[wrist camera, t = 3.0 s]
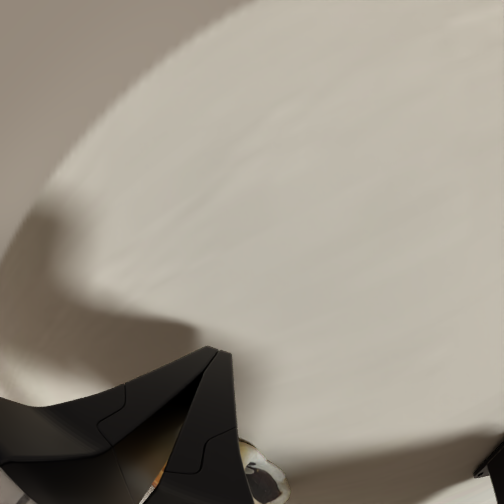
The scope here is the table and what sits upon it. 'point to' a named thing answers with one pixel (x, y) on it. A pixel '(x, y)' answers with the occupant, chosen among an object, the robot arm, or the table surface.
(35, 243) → the table surface
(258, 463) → the pastry
